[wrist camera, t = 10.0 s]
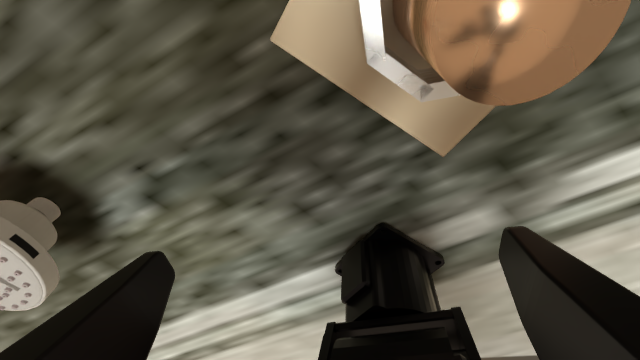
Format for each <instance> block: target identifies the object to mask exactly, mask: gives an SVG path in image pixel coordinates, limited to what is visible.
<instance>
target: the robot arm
mask: <svg viewBox="0 0 640 360" xmlns="http://www.w3.org/2000/svg"><path fill="white" fill-rule="evenodd" d="M380 230H384V231H380ZM499 259H500V263H501V266H502V268H503V271H504V274H505V277H506V280H507V283H508V285H509V288H510V291H511V294H512V297H513V300H514V302H515V305H516V308H517V311H518V314H519V316H520V319H521V321H522V324H523V326H524V328H525V330H526V333H527V335H528V337H529V339H530V341H531V343H532V345H533V347H534V349H535V351H536V353H537V355H538V357H539V359H540V360H640V296H638V295H636V294H635V293H633V292H631V291H630V290H628V289H627V288H625V287H623V286H622V285H620V284H618V283H617V282H615V281H613V280H612V279H610V278H608V277H607V276H605V275H604V274H602V273H600V272H599V271H597V270H595V269H594V268H592V267H590V266H589V265H587V264H586V263H584V262H582V261H581V260H579V259H577V258H576V257H574V256H572V255H571V254H569V253H567V252H566V251H564V250H563V249H561V248H559V247H558V246H556V245H554V244H553V243H551V242H549V241H548V240H546V239H544V238H543V237H541V236H540V235H538V234H536V233H535V232H533V231H531V230H530V229H528V228H526V227H523V226H518V227H507V228H505V229H504V230H503V233H502V238H501V243H500V249H499ZM444 263H445V262H444V259H443V257H442V256H441V255H440V254H438V253H436V252H434V251H433V250H431V249H429V248H427V247H426V246H424V245H422V244H420V243H418V242H417V241H415V240H413V239H411V238H410V237H408V236H406V235H404V234H403V233H401V232H399V231H397V230H396V229H394V228H392V227H390V226H389V225H387V224H379V225H377V226H376V227H375V228H374V229H373V230H372V231H371V232H370V233H369V234H368V235H367V236H366V237H365V238H364V239H363V240H361V241H359V242H358V243H357V244H356V245H355V246H354V247H353V248H352V249H351V250H350V251H349V252H348V253H347V254H346V255H345V256H344V257H343V258H342V260H341V261H340V262H339V263H338V264H337V265H336V267H335V272H336V273H337V274H338V275H340V276H342V285H341V300H342V303H344V304H346V322H342V323H336V322H330V323H327V326H326V330H325V334H324V336H323V340H322V344H321V348H320V353H319V357H318V360H481V358H480V356H479V353H478V351H477V348H476V346H475V343H474V340H473V338H472V335H471V333H470V330H469V328H468V325H467V323H466V320H465V318H464V315H463V313H462V310H461V308H460V307H454V308H451V309H450V310H442V311H441V308H440V305H439V301H438V298H437V294H436V290H435V287H434V283H433V279H432V276H431V274H432V273H433V272H434V271H436V270H437V269H439V268H440V267H441V266H443V265H444ZM174 279H175V272H174V269H173V267H172V266H171V264H170V263H169V261H168V259H167V258H166V256H165V255H164V253H162V252H160V251H154V252H147V253H144V254H143V255H141V256H140V257H139V258H137V259H136V260H134V261H133V262H131V263H130V264H128V265H127V266H125V267H124V268H123V269H121V270H120V271H118V272H117V273H115V274H114V275H112V276H111V277H109V278H108V279H107V280H105V281H104V282H102V283H101V284H99V285H98V286H96V287H95V288H94V289H92V290H91V291H89V292H88V293H86V294H85V295H83V296H82V297H80V298H79V299H78V300H76V301H75V302H73V303H72V304H70V305H69V306H67V307H66V308H64V309H63V310H62V311H60V312H59V313H57V314H56V315H54V316H53V317H51V318H50V319H49V320H47V321H46V322H44V323H43V324H41V325H40V326H38V327H37V328H35V329H34V330H33V331H31V332H30V333H28V334H27V335H25V336H24V337H22V338H21V339H19V340H18V341H17V342H15V343H14V344H12V345H11V346H9V347H8V348H6V349H5V350H3V351H2V352H1V353H0V360H146V359H147V357H148V355H149V352H150V350H151V347H152V345H153V343H154V340H155V338H156V335H157V333H158V330H159V327H160V324H161V321H162V318H163V314H164V311H165V308H166V305H167V302H168V298H169V295H170V292H171V289H172V286H173V282H174Z"/></svg>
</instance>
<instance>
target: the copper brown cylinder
mask: <svg viewBox="0 0 640 360" xmlns="http://www.w3.org/2000/svg"><path fill="white" fill-rule="evenodd" d="M630 2H631V0H393V15H394V19H395V23H396V26H397V28H398V30H399V32H400V33H401V35H402V36H403V37H404V38H405V39H406V40H407V41H408V43H409V44H410V45H411V46H412V47H413V48H414V49H415V50H416V51H417V52H418V53H419V54H420V55H421V56H422V57H423V58H424V59H425V60H426V61H427V62H428V63H429V64H430V66H431V67H432V68H433V69H434V70H435V71H436V72H437V73H438V74H439V75H440V76H441V77H442V78H443V79H444V80H445V81H446V82H447V83H448V84H449V85H450V86H451V87H452V88H453V89H454V90H455V91H456V92H457V93H459V94H460V95H462V96H464V97H465V98H467V99H470V100H472V101H474V102H478V103H481V104H486V105H494V106H506V105H515V104H520V103H524V102H528V101H531V100H534V99H537V98H540V97H542V96H545V95H547V94H549V93H551V92H553V91H555V90H556V89H558V88H560V87H562V86H563V85H565V84H566V83H568V82H569V81H571V80H572V79H574V78H575V77H576V76H577V75H579V74H580V73H581V72H582V71H583V70H585V69H586V68H587V67H588V66H589V65H590V64H591V63H592V62H593V61H594V60H595V59H596V58H597V57H598V56H599V54H600V53H601V52H602V51H603V50H604V49H605V47H606V46H607V45H608V43H609V42H610V41H611V39H612V38H613V36H614V35H615V33H616V32H617V30H618V28H619V26H620V25H621V23H622V21H623V19H624V17H625V15H626V12H627V10H628V8H629V5H630Z"/></svg>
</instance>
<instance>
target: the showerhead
mask: <svg viewBox="0 0 640 360" xmlns="http://www.w3.org/2000/svg"><path fill="white" fill-rule="evenodd" d="M60 214H61V212H60V209H59V207H58V206H57V205H56V204H55V203H53V202H52V201H50V200H48V199H46V198H42V197H37V198H35V199H33V200H32V201H30V202H29V203H28V204H23V203H20V202H16V201H11V200H1V201H0V310H12V311H19V310H28V309H31V308H35V307H37V306H39V305H40V304H41V303H42V302H43V301H44V300H45V299H46V298H47V297H48V296H49V295H50V293H51V292H52V291H53V290H54V289H55V288H56V286H57V285H58V282H59V271H58V268H57V266H56V263H55V262H54V260H53V258H52V257H51V255H50V254H49V253H48V252H47V251H48V250H49V249H50V248H51V247H52V246H53V245H54V244H55V243H56V241H57V231H56V229H55V227H54V226H53V224H52V222H53V221H54V220H56V219H57V218H58V217H59V216H60Z"/></svg>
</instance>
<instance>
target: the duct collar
mask: <svg viewBox="0 0 640 360" xmlns="http://www.w3.org/2000/svg"><path fill="white" fill-rule="evenodd" d="M358 3H359V11H360V18H361V25H362V33H363V40H364V48H365V56H366V61H367V64H368V65H370V66H371V67H373V68H374V69H375V70H377V71H378V72H380V73H381V74H382V75H384V76H385V77H387V78H388V79H389V80H391V81H392V82H394V83H395V84H396V85H398V86H399V87H401V88H402V89H403V90H405V91H406V92H408V93H409V94H410V95H412V96H413V97H415V98H416V99H417V100H419V101H420V102H426V101H432V100H437V99H443V98H448V97H454V96H460V94H459V93H457V92H456V91H455V90H454V89H453V88H452V87H451V86H450V85H449V84H448V83H447V82H446V81H445V80H444V79H443V78H442V77H441V76H440V75H439V74H438V73H437V72H436V71H435V70H434V69H433V68H432V67H431V68H426V69H421V70H417V69H416V68H414V67H413V66H412V65H410V64H409V63H408V62H406V61H405V60H404V59H402V58H401V57H400V56H398V55H397V54H396V53H394V52H393V51H392V50H390V49H389V48H388V47H386V46H385V45H384V38H383V28H382V18H381V8H380V0H358Z"/></svg>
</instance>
